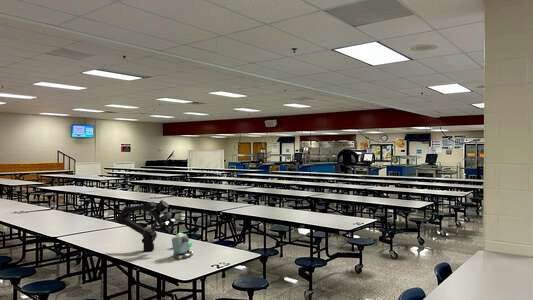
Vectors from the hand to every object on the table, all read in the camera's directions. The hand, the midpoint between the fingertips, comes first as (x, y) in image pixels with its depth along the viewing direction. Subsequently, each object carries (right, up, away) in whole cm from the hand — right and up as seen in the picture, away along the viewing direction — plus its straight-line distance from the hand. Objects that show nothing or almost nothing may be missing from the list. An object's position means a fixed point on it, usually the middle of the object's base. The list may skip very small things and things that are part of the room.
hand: (170, 233), depth 253 cm
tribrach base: (+10, -14, -8) cm, 19 cm away
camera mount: (+5, -14, +17) cm, 23 cm away
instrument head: (+12, -10, -8) cm, 18 cm away
